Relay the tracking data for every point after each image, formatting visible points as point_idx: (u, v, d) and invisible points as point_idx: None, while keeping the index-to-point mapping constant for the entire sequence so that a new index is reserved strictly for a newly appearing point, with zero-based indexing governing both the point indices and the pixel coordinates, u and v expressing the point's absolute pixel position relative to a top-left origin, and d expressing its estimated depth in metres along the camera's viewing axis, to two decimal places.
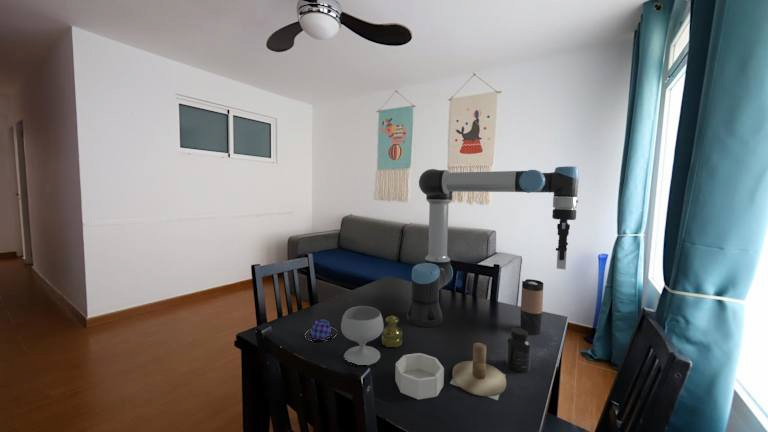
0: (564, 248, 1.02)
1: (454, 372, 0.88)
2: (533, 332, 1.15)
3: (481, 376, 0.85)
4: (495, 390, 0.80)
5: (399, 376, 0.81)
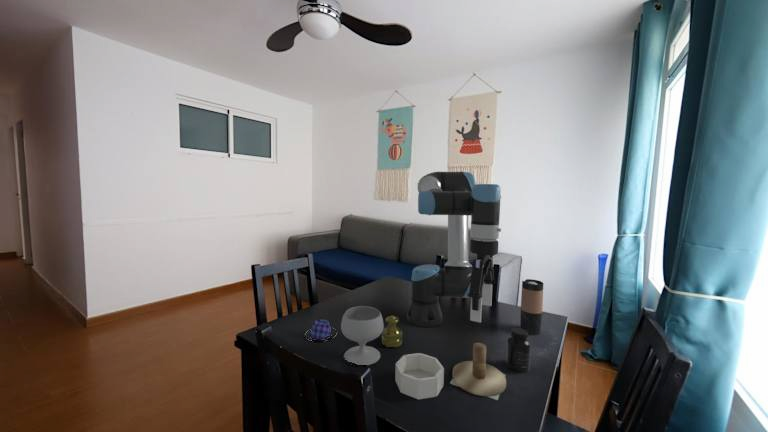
0: (476, 295, 0.75)
1: (454, 372, 0.88)
2: (533, 332, 1.15)
3: (481, 376, 0.85)
4: (495, 390, 0.80)
5: (399, 376, 0.81)
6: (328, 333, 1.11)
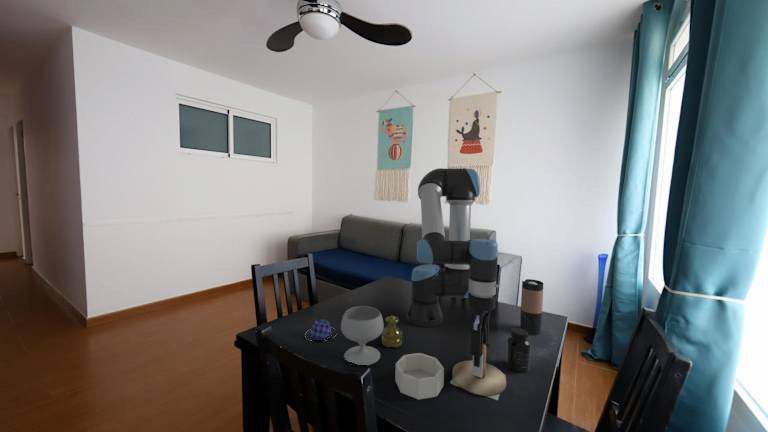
0: (477, 354, 0.81)
1: (454, 371, 0.88)
2: (533, 332, 1.15)
3: None
4: (495, 389, 0.80)
5: (399, 376, 0.81)
6: (328, 333, 1.11)
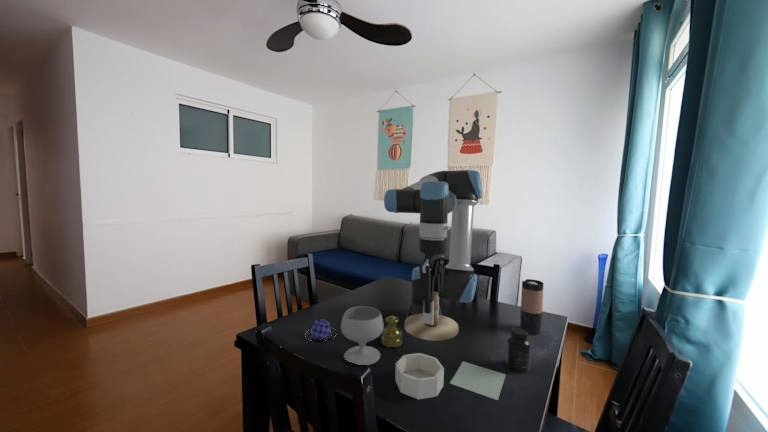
0: (426, 299, 0.77)
1: (406, 322, 0.84)
2: (533, 332, 1.15)
3: (433, 324, 0.81)
4: (445, 335, 0.77)
5: (399, 376, 0.81)
6: (327, 333, 1.11)
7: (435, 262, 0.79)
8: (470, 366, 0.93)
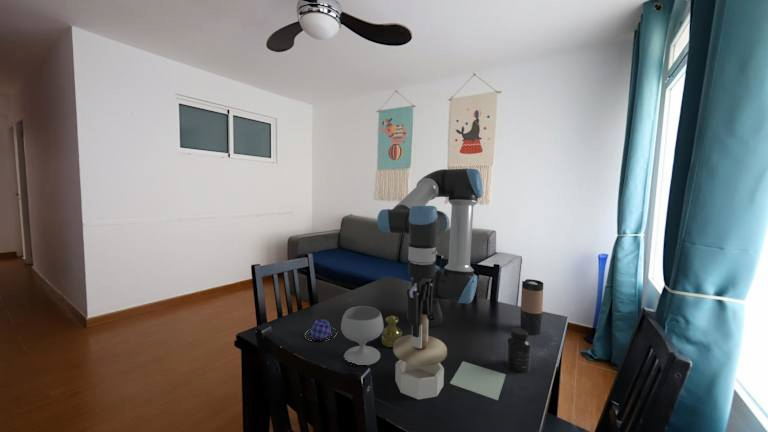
0: (414, 323, 0.78)
1: (395, 344, 0.85)
2: (533, 332, 1.15)
3: None
4: (432, 359, 0.77)
5: (399, 376, 0.81)
6: (327, 333, 1.11)
7: (423, 286, 0.80)
8: (470, 366, 0.93)
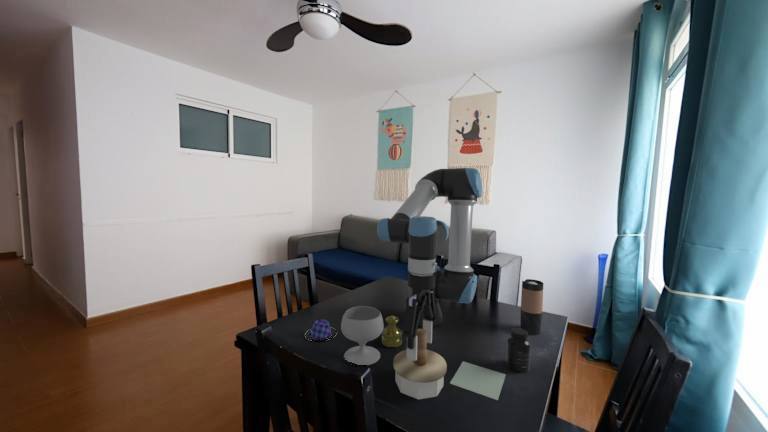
0: (409, 335, 0.75)
1: (395, 359, 0.85)
2: (533, 332, 1.15)
3: (421, 363, 0.82)
4: (432, 376, 0.77)
5: (399, 376, 0.81)
6: (327, 334, 1.11)
7: (423, 296, 0.80)
8: (470, 366, 0.93)
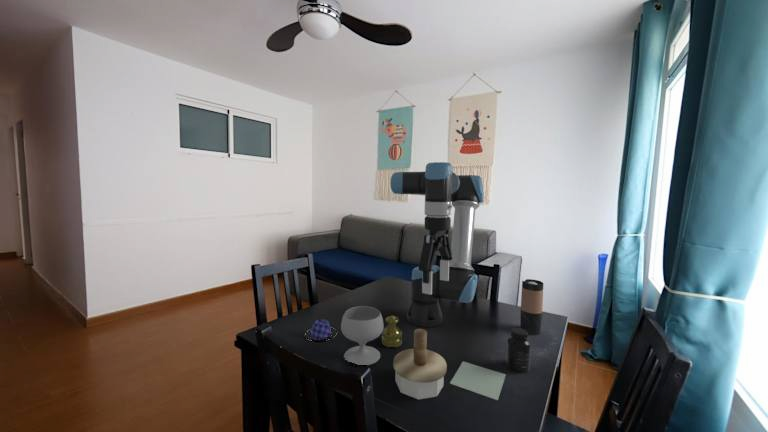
0: (424, 269, 0.79)
1: (395, 359, 0.85)
2: (533, 332, 1.15)
3: (421, 363, 0.82)
4: (432, 376, 0.77)
5: (399, 376, 0.81)
6: (327, 334, 1.11)
7: (439, 237, 0.85)
8: (470, 366, 0.93)
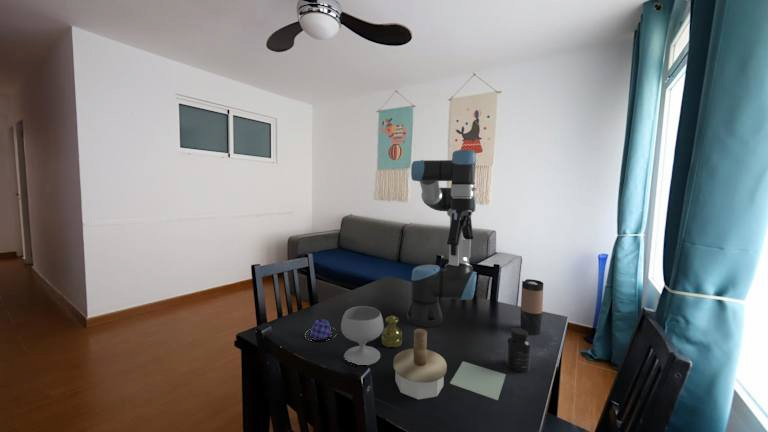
0: (453, 241, 0.90)
1: (395, 359, 0.85)
2: (533, 332, 1.15)
3: (421, 363, 0.82)
4: (432, 376, 0.77)
5: (399, 376, 0.81)
6: (326, 334, 1.11)
7: (464, 216, 0.96)
8: (470, 366, 0.93)
